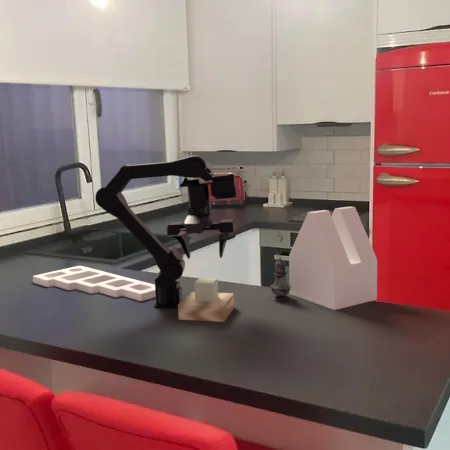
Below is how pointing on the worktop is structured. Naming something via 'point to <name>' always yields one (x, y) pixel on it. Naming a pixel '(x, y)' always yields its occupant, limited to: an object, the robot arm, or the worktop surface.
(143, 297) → the holder
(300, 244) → the milk carton
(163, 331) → the worktop surface
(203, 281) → the sage cube
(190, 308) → the oak riser block
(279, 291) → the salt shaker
